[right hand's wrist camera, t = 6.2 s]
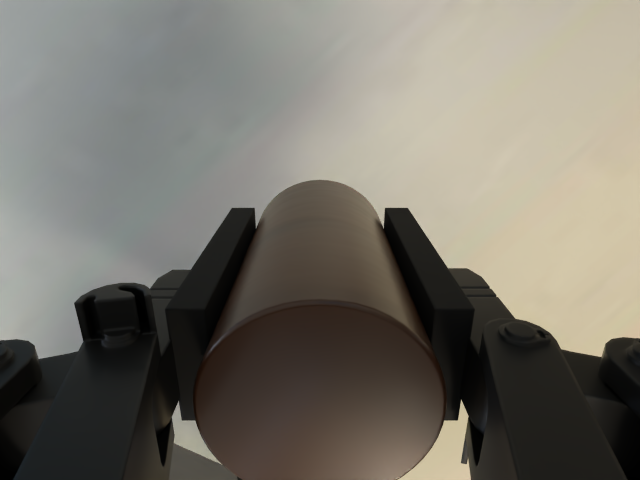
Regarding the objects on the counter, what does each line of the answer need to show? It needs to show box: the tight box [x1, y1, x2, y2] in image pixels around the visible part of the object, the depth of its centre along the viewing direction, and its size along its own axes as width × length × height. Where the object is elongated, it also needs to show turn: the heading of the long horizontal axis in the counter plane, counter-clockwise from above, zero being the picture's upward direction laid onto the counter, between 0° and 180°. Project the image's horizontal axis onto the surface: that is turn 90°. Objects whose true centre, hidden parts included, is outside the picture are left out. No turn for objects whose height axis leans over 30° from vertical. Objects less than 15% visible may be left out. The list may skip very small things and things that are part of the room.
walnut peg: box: [193, 180, 447, 480], centre depth 11 cm, size 4×4×8 cm
